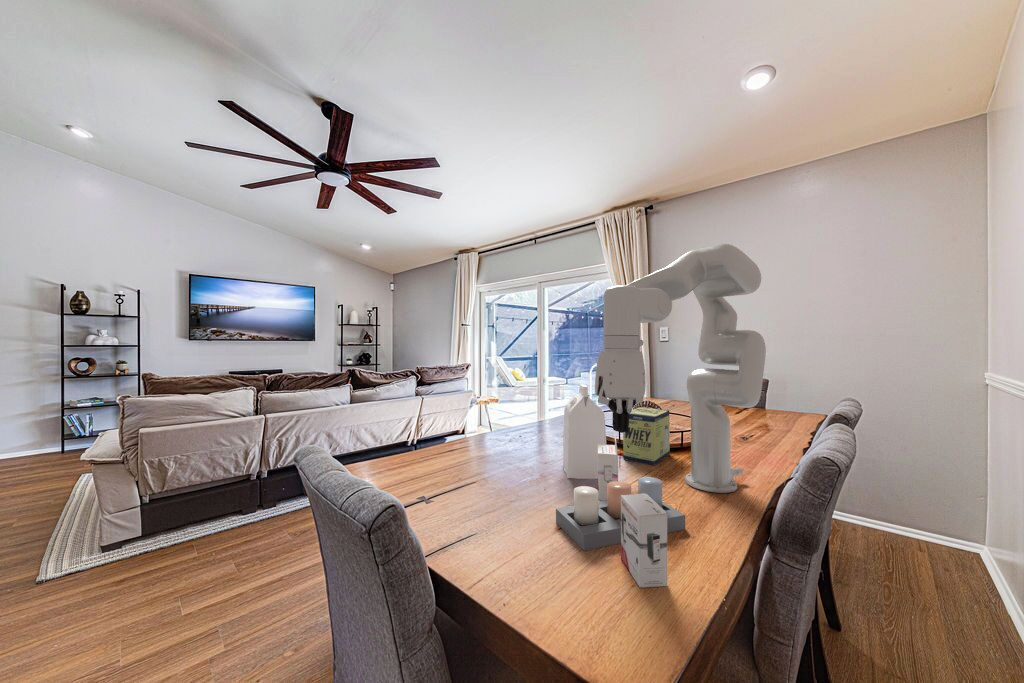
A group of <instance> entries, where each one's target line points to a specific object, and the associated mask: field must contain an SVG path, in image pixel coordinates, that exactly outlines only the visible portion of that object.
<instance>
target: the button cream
mask: <svg viewBox="0 0 1024 683" xmlns="http://www.w3.org/2000/svg"><path fill="white" fill-rule="evenodd" d="M598 501H599V489H597V488H595V487H593V486H587V485H581V486H576V487H575V488H573V505H574V521H575V522H576V523H578V524H580V525H579V526H587V525H592V524H597V523H598V522H599V502H598Z"/></svg>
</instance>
